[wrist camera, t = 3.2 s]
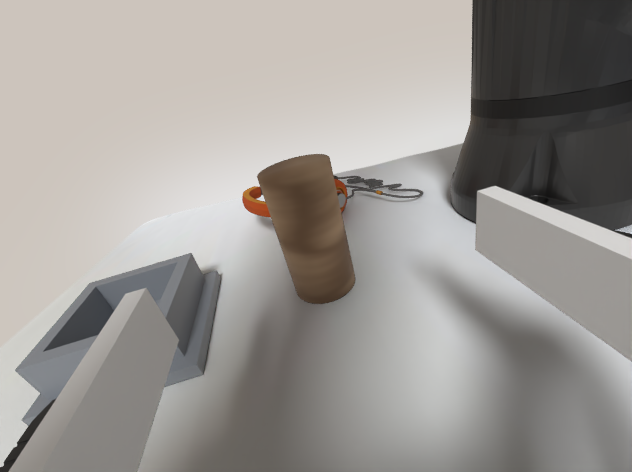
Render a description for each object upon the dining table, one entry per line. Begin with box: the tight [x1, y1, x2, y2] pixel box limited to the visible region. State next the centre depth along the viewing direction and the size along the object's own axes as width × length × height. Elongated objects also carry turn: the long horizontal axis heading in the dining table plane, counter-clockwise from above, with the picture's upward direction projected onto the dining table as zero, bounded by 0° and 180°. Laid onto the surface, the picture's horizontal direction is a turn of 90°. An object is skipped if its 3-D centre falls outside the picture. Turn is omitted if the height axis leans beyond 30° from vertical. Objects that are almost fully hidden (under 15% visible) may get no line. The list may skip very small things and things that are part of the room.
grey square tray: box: [15, 253, 221, 426], centre depth 23 cm, size 11×11×4 cm
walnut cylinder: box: [257, 154, 355, 304], centre depth 22 cm, size 5×5×10 cm
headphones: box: [243, 175, 423, 217], centre depth 37 cm, size 17×5×20 cm
